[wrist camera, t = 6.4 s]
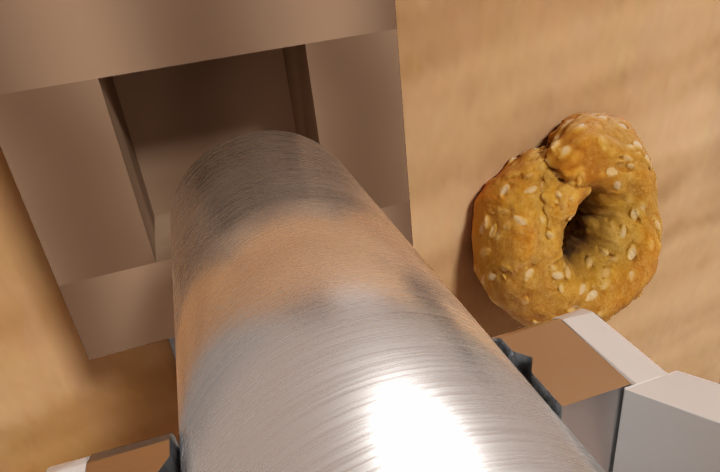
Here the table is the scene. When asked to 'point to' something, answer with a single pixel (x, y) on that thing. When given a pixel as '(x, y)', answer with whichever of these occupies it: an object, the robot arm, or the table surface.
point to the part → (332, 333)
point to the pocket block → (178, 126)
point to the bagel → (586, 229)
